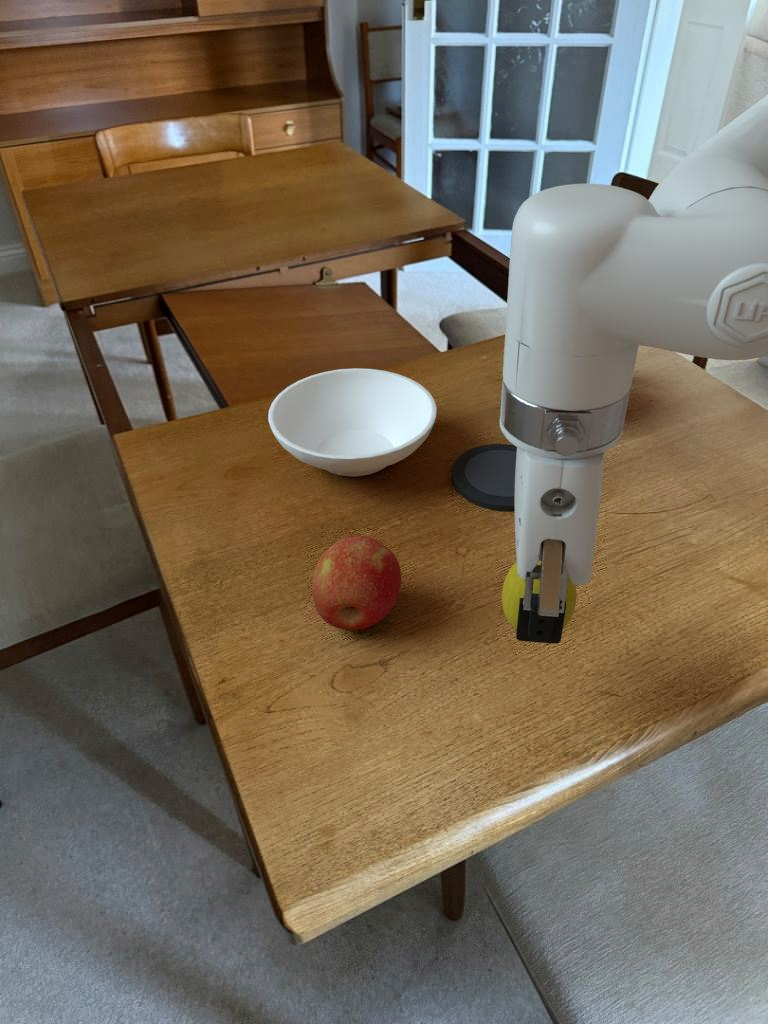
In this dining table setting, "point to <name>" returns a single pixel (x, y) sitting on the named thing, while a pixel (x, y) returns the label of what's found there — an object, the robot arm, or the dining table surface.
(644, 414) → the dining table surface
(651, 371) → the dining table surface
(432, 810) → the dining table surface
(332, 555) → the apple
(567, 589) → the lemon
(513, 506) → the plate
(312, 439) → the bowl
